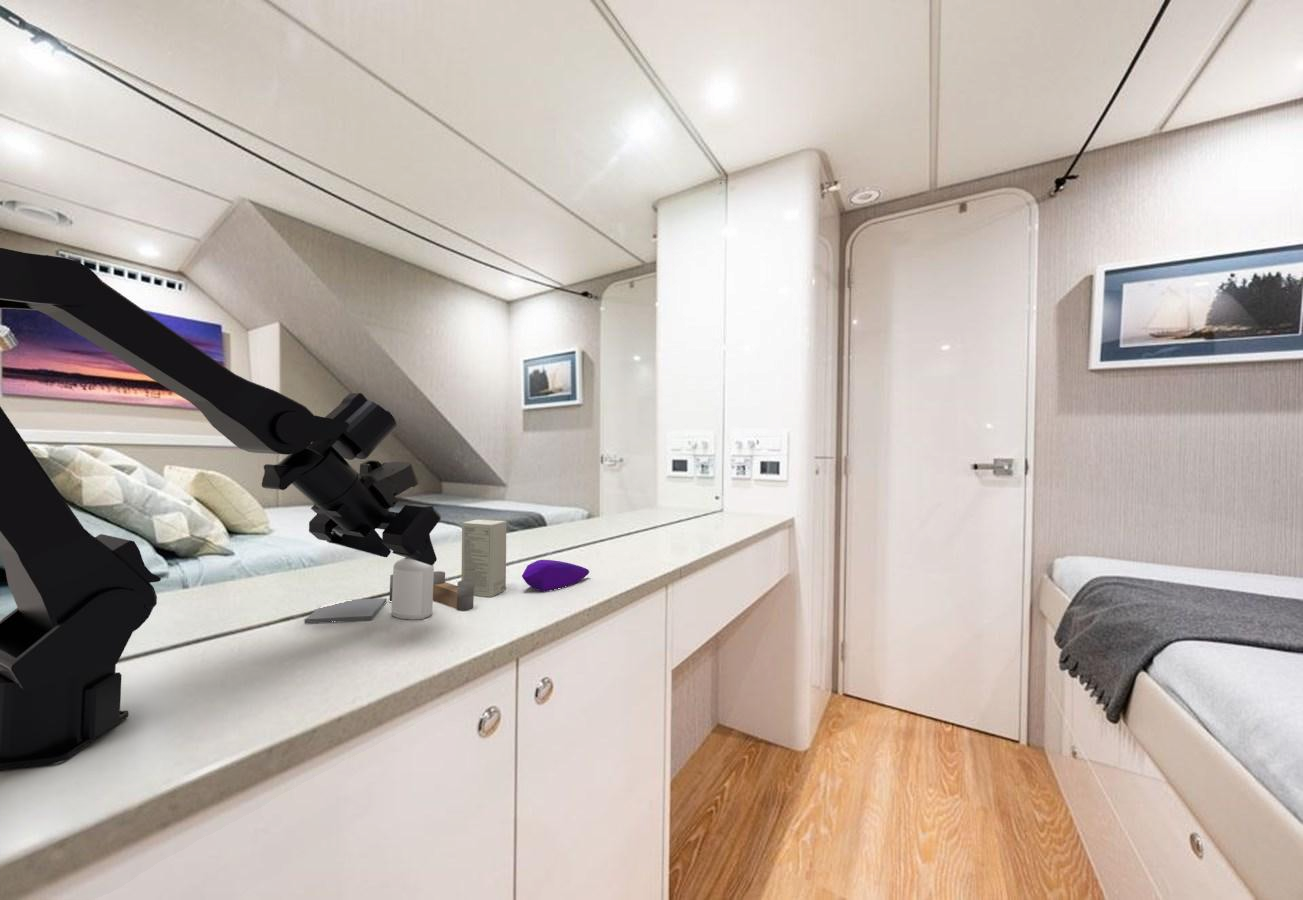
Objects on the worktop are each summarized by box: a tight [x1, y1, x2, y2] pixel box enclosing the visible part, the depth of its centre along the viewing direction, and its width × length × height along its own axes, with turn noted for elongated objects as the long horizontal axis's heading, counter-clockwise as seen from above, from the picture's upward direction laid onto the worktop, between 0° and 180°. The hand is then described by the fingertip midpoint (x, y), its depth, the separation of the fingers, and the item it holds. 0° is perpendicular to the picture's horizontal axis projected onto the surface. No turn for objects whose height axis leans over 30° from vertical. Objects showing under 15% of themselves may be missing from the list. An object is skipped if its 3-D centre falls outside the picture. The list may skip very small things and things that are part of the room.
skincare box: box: [460, 518, 507, 598], centre depth 80 cm, size 6×4×12 cm
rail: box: [389, 570, 475, 612], centre depth 73 cm, size 13×8×4 cm, turn 106°
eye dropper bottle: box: [391, 557, 435, 621], centre depth 68 cm, size 4×6×12 cm
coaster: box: [304, 597, 388, 624], centre depth 68 cm, size 8×8×1 cm
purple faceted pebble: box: [521, 559, 590, 592], centre depth 85 cm, size 5×5×15 cm
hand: (410, 558), depth 67 cm, fingers open, 9 cm apart
